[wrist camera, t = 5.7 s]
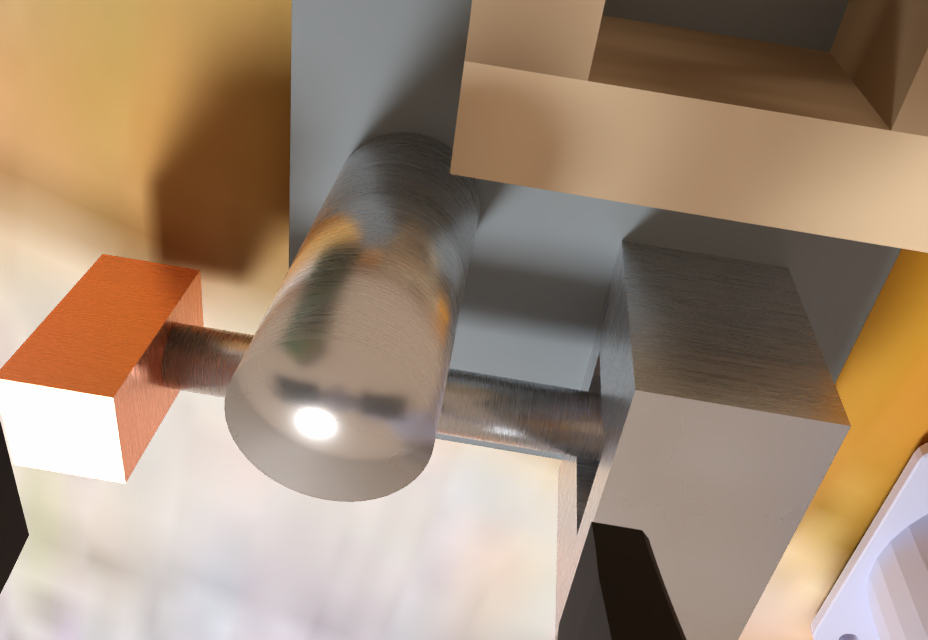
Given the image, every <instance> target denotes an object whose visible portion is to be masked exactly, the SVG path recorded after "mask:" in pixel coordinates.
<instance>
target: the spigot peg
mask: <svg viewBox="0 0 928 640" xmlns="http://www.w3.org/2000/svg"><path fill="white" fill-rule="evenodd" d="M452 152H453V150H452V149H451V148H449V147H448V146H446V145H445V144H443V143H441V142H439V141H437V140H435V139H433V138H430V137H428V136H425V135H420V134H416V133H407V132H398V133H389V134H384V135H381V136H378V137H375V138H373V139H371V140H368V141H367V142H365V143H364V144H362V145H361V146H359V147H358V148H357V149H356V150H355V151H354V152H353V153H352V154H351V155H350V156H349V158H348V159H347V161H346V162H345V164H344V166H343V167H342V169H341V171H340V173H339V175H338V177H337V179H336V181H335V183H334V185H333V186H332V188H331V190H330V192H329V194H328V196H327V198H326V200H325V202H324V204H323V206H322V207H321V209H320V211H319V213H318V215H317V217H316V219H315V221H314V223H313V225H312V226H311V228H310V230H309V232H308V234H307V236H306V238H305V240H304V242H303V244H302V246H301V247H300V249H299V251H298V253H297V255H296V257H295V259H294V261H293V263H292V265H291V266H290V268H289V270H288V272H287V274H286V276H285V278H284V280H283V282H282V284H281V286H280V287H279V289H278V291H277V293H276V295H275V297H274V299H273V301H272V303H271V305H270V306H269V308H268V310H267V312H266V314H265V316H264V318H263V320H262V322H261V324H260V326H259V327H258V329H257V331H256V333H255V335H254V337H253V339H252V341H251V343H250V345H249V346H248V348H247V350H246V352H245V354H244V356H243V358H242V360H241V362H240V364H239V365H238V367H237V369H236V371H235V373H234V375H233V377H232V379H231V381H230V383H229V386H228V388H227V392H226V396H225V416H226V421H227V425H228V428H229V431H230V433H231V435H232V437H233V440H234V441H235V443H236V444H237V446H238V447H239V449H240V450H241V452H242V453H243V454H244V455H245V457H246V458H247V459H248V460H249V461H250V462H251V463H252V464H253V465H254V466H255V467H256V468H258V469H259V470H260V471H261V472H263V473H264V474H265V475H267V476H268V477H270V478H271V479H273V480H274V481H276V482H278V483H280V484H281V485H283V486H285V487H287V488H289V489H292V490H294V491H297V492H299V493H302V494H305V495H308V496H312V497H316V498H320V499H325V500H332V501H346V502H354V501H366V500H372V499H377V498H380V497H384V496H387V495H390V494H392V493H394V492H397V491H399V490H400V489H402V488H404V487H406V486H407V485H408V484H410V483H411V482H412V481H414V480H415V479H416V478H417V477H418V476H419V475H420V474H421V472H422V471H423V470H424V468H425V467H426V465H427V464H428V462H429V459H430V457H431V455H432V451H433V447H434V442H435V437H436V432H437V427H438V422H439V417H440V412H441V406H442V401H443V396H444V391H445V386H446V381H447V376H448V371H449V366H450V361H451V356H452V351H453V346H454V340H455V335H456V330H457V325H458V320H459V315H460V310H461V305H462V300H463V295H464V290H465V285H466V280H467V275H468V269H469V264H470V259H471V254H472V249H473V244H474V239H475V234H476V229H477V224H478V219H479V214H480V194H479V189H478V185H477V182H476V180H475V178H471V177H465V176H459V175H453V174H450V168H451V160H452Z"/></svg>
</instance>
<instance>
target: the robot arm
mask: <svg viewBox="0 0 928 640" xmlns="http://www.w3.org/2000/svg"><path fill="white" fill-rule="evenodd" d="M28 536H29V533H28V529H27V525H26V521H25V518H24V514H23V510H22V506H21V502H20V498H19V494H18V490H17V486H16V482H15V478H14V474H13V470H12V466H11V462H10V458H9V454H8V450H7V446H6V442H5V438H4V434H3V430H2V426H1V422H0V593H1V591H2V589H3V587H4V585H5V583H6V581H7V580H8V578H9V576H10V573H11V571H12V569H13V567H14V565H15V563H16V561H17V559H18V557H19V555H20V553H21V551H22V548H23V546H24V544H25V542H26V540H27V538H28ZM810 628H811V632H812V636H813V638H814V640H928V443H925V444H924V445H922V446H920V447H919V448H918V449H917V450H916V451H915V452H914V453H913V455H912V457H911V458H910V460H909V462H908V463H907V465H906V467H905V468H904V470H903V472H902V473H901V475H900V477H899V478H898V480H897V482H896V483H895V485H894V487H893V488H892V490H891V492H890V493H889V495H888V497H887V498H886V500H885V502H884V503H883V505H882V507H881V508H880V510H879V512H878V513H877V515H876V517H875V518H874V520H873V522H872V523H871V525H870V527H869V528H868V530H867V532H866V533H865V535H864V537H863V538H862V540H861V542H860V543H859V545H858V547H857V548H856V550H855V552H854V553H853V555H852V557H851V558H850V560H849V561H848V563H847V565H846V566H845V568H844V570H843V571H842V573H841V575H840V576H839V578H838V580H837V581H836V583H835V585H834V586H833V588H832V590H831V591H830V593H829V595H828V596H827V598H826V600H825V601H824V603H823V605H822V606H821V608H820V610H819V611H818V613H817V615H816V616H815V618H814V620H813V621H812V623H811V627H810ZM558 640H687V639H686V637H685V635H684V632H683V630H682V627H681V625H680V622H679V620H678V617H677V615H676V612H675V610H674V607H673V605H672V602H671V600H670V597H669V595H668V592H667V589H666V587H665V584H664V581H663V579H662V576H661V573H660V570H659V568H658V565H657V562H656V559H655V556H654V553H653V550H652V547H651V544H650V541H649V538H648V537H647V536H646V534H645V533H644V532H643V531H642V530H638V529H632V528H626V527H621V526H615V525H609V524H603V523H597V522H591V525H590V528H589V531H588V534H587V537H586V541H585V544H584V547H583V550H582V553H581V556H580V560H579V563H578V566H577V569H576V572H575V575H574V578H573V582H572V585H571V588H570V591H569V594H568V597H567V601H566V604H565V607H564V610H563V613H562V616H561V619H560V623H559V628H558Z"/></svg>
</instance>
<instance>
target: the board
mask: <svg viewBox="0 0 928 640" xmlns="http://www.w3.org/2000/svg"><path fill="white" fill-rule="evenodd" d="M848 3H849V0H605V5H604V9H603V14H602V15H605V16H611V17H617V18H623V19H629V20H635V21H642V22H648V23H654V24H660V25H666V26H672V27H679V28H685V29H691V30H697V31H703V32H709V33H715V34H722V35H728V36H734V37H740V38H746V39H752V40H759V41H765V42H771V43H777V44H783V45H789V46H795V47H802V48H808V49H814V50H820V51H826V52H830V50H831V47H832V45H833V42H834V39H835V37H836V34H837V32H838V29H839V26H840V24H841V21H842V18H843V16H844V13H845V10H846V8H847V5H848ZM471 7H472V0H292V42H291V127H290V213H289V268H290V266H291V265H292V263H293V261H294V259H295V257H296V255H297V253H298V251H299V249H300V247H301V246H302V244H303V242H304V240H305V238H306V236H307V234H308V232H309V230H310V228H311V226H312V225H313V223H314V221H315V219H316V217H317V215H318V213H319V211H320V209H321V207H322V206H323V204H324V202H325V200H326V198H327V196H328V194H329V192H330V190H331V188H332V186H333V185H334V183H335V181H336V179H337V177H338V175H339V173H340V171H341V169H342V167H343V166H344V164H345V162H346V161H347V159H348V158H349V156H350V155H351V154H352V153H353V152H354V151H355V150H356V149H357V148H358V147H359V146H361V145H362V144H364V143H365V142H367V141H368V140H371V139H373V138H375V137H378V136H381V135H384V134H389V133H398V132H407V133H416V134H420V135H425V136H428V137H430V138H433V139H435V140H437V141H439V142H441V143H443V144H445V145H446V146H448V147H449V148H451V149H452V150H453V145H454V137H455V129H456V122H457V114H458V106H459V99H460V91H461V83H462V76H463V68H464V61H465V53H466V45H467V38H468V30H469V22H470V15H471ZM475 180H476V182H477V185H478V189H479V194H480V214H479V219H478V224H477V229H476V234H475V239H474V244H473V249H472V254H471V259H470V264H469V269H468V275H467V280H466V285H465V290H464V295H463V300H462V305H461V310H460V315H459V320H458V325H457V330H456V335H455V340H454V346H453V351H452V356H451V361H450V366H449V368H452V369H458V370H464V371H469V372H475V373H481V374H487V375H493V376H499V377H505V378H511V379H517V380H523V381H529V382H535V383H541V384H547V385H553V386H559V387H565V388H571V389H577V390H581V387H582V384H583V380H584V376H585V372H586V369H587V365H588V361H589V358H590V354H591V350H592V347H593V343H594V339H595V336H596V332H597V328H598V325H599V321H600V317H601V314H602V310H603V306H604V303H605V299H606V295H607V292H608V288H609V284H610V281H611V277H612V273H613V270H614V266H615V262H616V259H617V255H618V251H619V248H620V244H621V240H623V241H629V242H635V243H641V244H647V245H653V246H659V247H665V248H671V249H678V250H684V251H690V252H696V253H702V254H708V255H714V256H720V257H726V258H732V259H738V260H744V261H750V262H756V263H762V264H768V265H774V266H780V267H786V268H789V270H790V273H791V276H792V278H793V281H794V283H795V286H796V288H797V291H798V293H799V296H800V298H801V301H802V303H803V306H804V308H805V311H806V314H807V316H808V319H809V321H810V324H811V326H812V329H813V331H814V334H815V336H816V339H817V341H818V344H819V346H820V349H821V351H822V354H823V357H824V359H825V362H826V364H827V367H828V369H829V372H830V374H831V377H832V379H833V382H834V384H835V382H836V380H837V378H838V376H839V374H840V372H841V370H842V368H843V366H844V364H845V362H846V360H847V358H848V356H849V354H850V352H851V350H852V348H853V346H854V344H855V342H856V340H857V338H858V336H859V334H860V332H861V330H862V328H863V326H864V323H865V321H866V319H867V317H868V315H869V313H870V311H871V309H872V307H873V305H874V303H875V301H876V299H877V297H878V295H879V293H880V291H881V289H882V287H883V285H884V283H885V281H886V279H887V277H888V275H889V273H890V271H891V269H892V267H893V265H894V263H895V261H896V259H897V257H898V255H899V253H900V251H901V249H902V248H896V247H890V246H884V245H878V244H871V243H865V242H859V241H853V240H847V239H841V238H835V237H829V236H823V235H817V234H811V233H805V232H799V231H793V230H787V229H781V228H775V227H768V226H762V225H756V224H750V223H744V222H738V221H732V220H726V219H720V218H714V217H708V216H702V215H696V214H690V213H684V212H678V211H671V210H665V209H659V208H653V207H647V206H641V205H635V204H629V203H623V202H617V201H611V200H605V199H599V198H593V197H587V196H581V195H574V194H568V193H562V192H556V191H550V190H544V189H538V188H532V187H526V186H520V185H514V184H508V183H502V182H496V181H490V180H484V179H477V178H475ZM435 438H436V439H442V440H448V441H454V442H460V443H466V444H472V445H478V446H484V447H489V448H495V449H501V450H507V451H513V452H519V453H525V454H531V455H537V456H543V457H549V458H555V459H561V460H562V457H563V455H562V454H556V453H551V452H545V451H539V450H533V449H527V448H521V447H515V446H509V445H503V444H497V443H491V442H485V441H479V440H473V439H467V438H462V437H456V436H450V435H444V434H438V433H436V437H435Z"/></svg>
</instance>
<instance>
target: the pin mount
mask: <svg viewBox="0 0 928 640" xmlns="http://www.w3.org/2000/svg"><path fill="white" fill-rule="evenodd" d="M581 390H583V391H589V392H595V393H601V401H602V425H603V449H604V450H603V453H602V456H601V459H600V461H598V460H592V459H586V458H580V457H574V456H568V455H563V457H562V461H561V464H560V468H559V481H558V532H557V583H556V634H555V640H558V628H559V623H560V619H561V616H562V613H563V610H564V607H565V604H566V601H567V597H568V594H569V591H570V588H571V585H572V582H573V578H574V575H575V572H576V569H577V566H578V563H579V560H580V556H581V553H582V550H583V547H584V544H585V541H586V537H587V534H588V531H589V528H590V525H591V522H597V523H603V524H609V525H615V526H621V527H626V528H632V529H638V530H642V531H643V532H644V533H645V534H646V536H647V537H648V538H649V541H650V544H651V547H652V550H653V553H654V556H655V559H656V562H657V565H658V568H659V570H660V573H661V576H662V579H663V581H664V584H665V587H666V589H667V592H668V595H669V597H670V600H671V602H672V605H673V607H674V610H675V612H676V615H677V617H678V620H679V622H680V625H681V627H682V630H683V632H684V635H685V637H686V639H687V640H738V639H739V637H740V635H741V633H742V631H743V629H744V627H745V626H746V624H747V622H748V620H749V618H750V616H751V614H752V612H753V610H754V608H755V607H756V605H757V603H758V601H759V599H760V597H761V595H762V593H763V591H764V590H765V588H766V586H767V584H768V582H769V580H770V578H771V576H772V574H773V573H774V571H775V569H776V567H777V565H778V563H779V561H780V559H781V557H782V556H783V554H784V552H785V550H786V548H787V546H788V544H789V542H790V540H791V539H792V537H793V535H794V533H795V531H796V529H797V527H798V525H799V523H800V522H801V520H802V518H803V516H804V514H805V512H806V510H807V508H808V506H809V505H810V503H811V501H812V499H813V497H814V495H815V493H816V491H817V489H818V488H819V486H820V484H821V482H822V480H823V478H824V476H825V474H826V472H827V471H828V469H829V467H830V465H831V463H832V461H833V459H834V457H835V455H836V454H837V452H838V450H839V448H840V446H841V444H842V442H843V440H844V438H845V437H846V435H847V433H848V431H849V429H850V427H851V425H850V422H849V420H848V417H847V415H846V412H845V410H844V407H843V405H842V402H841V400H840V397H839V394H838V392H837V389H836V387H835V384H834V382H833V379H832V377H831V374H830V372H829V369H828V367H827V364H826V362H825V359H824V357H823V354H822V351H821V349H820V346H819V344H818V341H817V339H816V336H815V334H814V331H813V329H812V326H811V324H810V321H809V319H808V316H807V314H806V311H805V308H804V306H803V303H802V301H801V298H800V296H799V293H798V291H797V288H796V286H795V283H794V281H793V278H792V276H791V273H790V270H789V268H786V267H780V266H774V265H768V264H762V263H756V262H750V261H744V260H738V259H732V258H726V257H720V256H714V255H708V254H702V253H696V252H690V251H684V250H678V249H671V248H665V247H659V246H653V245H647V244H641V243H635V242H629V241H623V240H621V244H620V248H619V251H618V255H617V259H616V262H615V266H614V270H613V273H612V277H611V281H610V284H609V288H608V292H607V295H606V299H605V303H604V306H603V310H602V314H601V317H600V321H599V325H598V328H597V332H596V336H595V339H594V343H593V347H592V350H591V354H590V358H589V361H588V365H587V369H586V372H585V376H584V380H583V384H582V387H581Z"/></svg>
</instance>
